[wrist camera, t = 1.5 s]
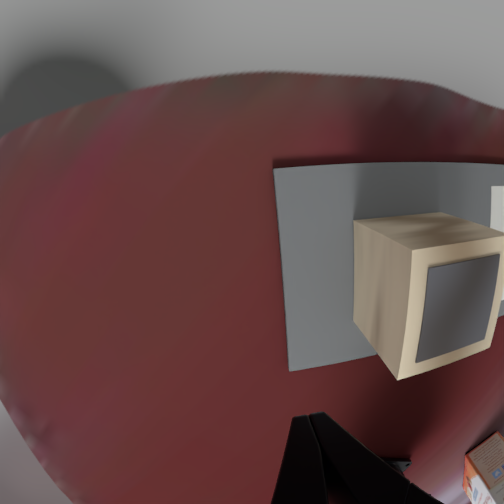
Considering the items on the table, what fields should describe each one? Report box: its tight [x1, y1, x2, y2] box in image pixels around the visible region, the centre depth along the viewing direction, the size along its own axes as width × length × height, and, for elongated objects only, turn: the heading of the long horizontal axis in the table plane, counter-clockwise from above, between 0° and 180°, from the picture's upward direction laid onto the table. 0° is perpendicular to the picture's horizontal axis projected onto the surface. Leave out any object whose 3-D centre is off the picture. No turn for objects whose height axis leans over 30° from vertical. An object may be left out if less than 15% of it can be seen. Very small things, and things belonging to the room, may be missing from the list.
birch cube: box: [353, 212, 504, 380], centre depth 14 cm, size 6×6×6 cm
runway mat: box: [273, 162, 504, 371], centre depth 18 cm, size 26×12×1 cm, turn 96°
